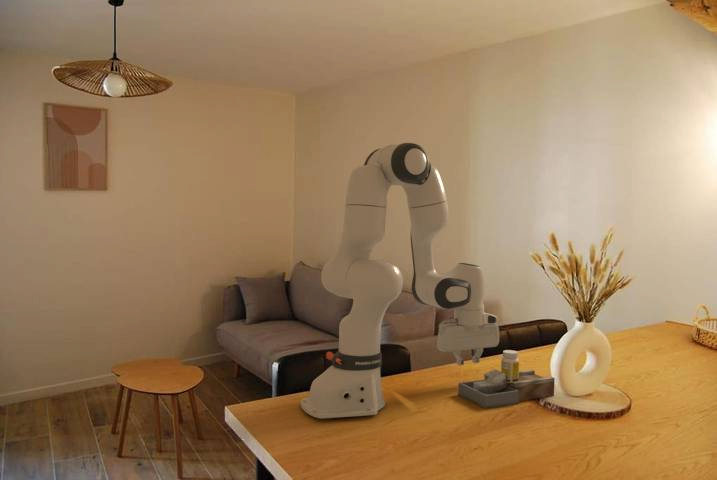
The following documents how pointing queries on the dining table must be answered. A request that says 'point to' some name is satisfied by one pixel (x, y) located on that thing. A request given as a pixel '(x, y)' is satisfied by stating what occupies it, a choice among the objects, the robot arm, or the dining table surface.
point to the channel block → (533, 385)
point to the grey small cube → (496, 379)
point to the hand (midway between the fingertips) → (468, 363)
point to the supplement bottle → (510, 366)
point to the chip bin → (491, 400)
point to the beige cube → (484, 387)
